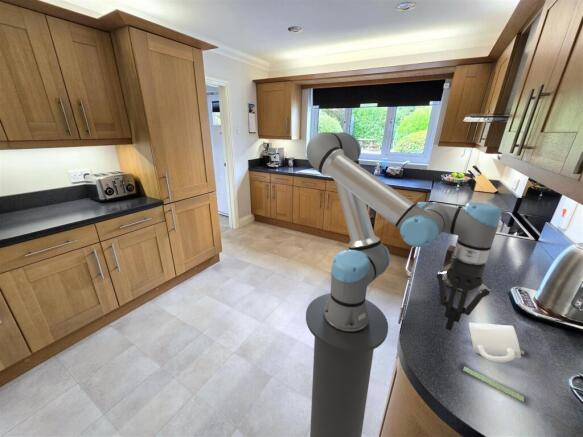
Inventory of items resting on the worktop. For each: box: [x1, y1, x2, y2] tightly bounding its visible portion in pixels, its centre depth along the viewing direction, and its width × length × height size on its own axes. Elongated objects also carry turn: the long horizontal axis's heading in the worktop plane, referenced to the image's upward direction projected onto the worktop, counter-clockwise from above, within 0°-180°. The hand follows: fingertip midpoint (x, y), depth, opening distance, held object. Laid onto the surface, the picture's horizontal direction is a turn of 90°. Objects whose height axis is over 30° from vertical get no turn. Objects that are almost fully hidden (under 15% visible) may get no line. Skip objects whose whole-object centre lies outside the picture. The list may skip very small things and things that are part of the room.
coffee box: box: [441, 245, 463, 292], centre depth 101 cm, size 9×6×16 cm
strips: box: [462, 349, 525, 402], centre depth 68 cm, size 12×20×1 cm, turn 137°
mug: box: [468, 322, 522, 363], centre depth 67 cm, size 12×10×8 cm
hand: (449, 327), depth 74 cm, fingers closed
